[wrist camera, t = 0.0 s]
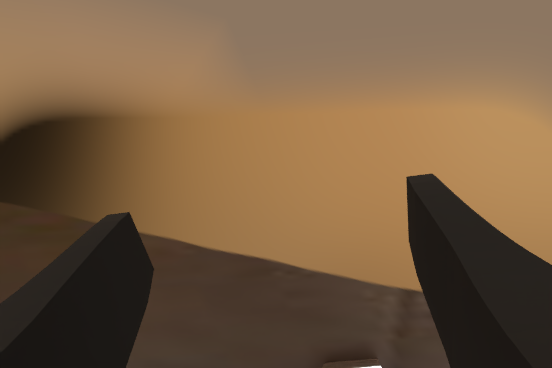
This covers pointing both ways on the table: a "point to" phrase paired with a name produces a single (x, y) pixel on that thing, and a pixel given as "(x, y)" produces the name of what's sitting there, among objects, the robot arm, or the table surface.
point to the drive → (354, 364)
